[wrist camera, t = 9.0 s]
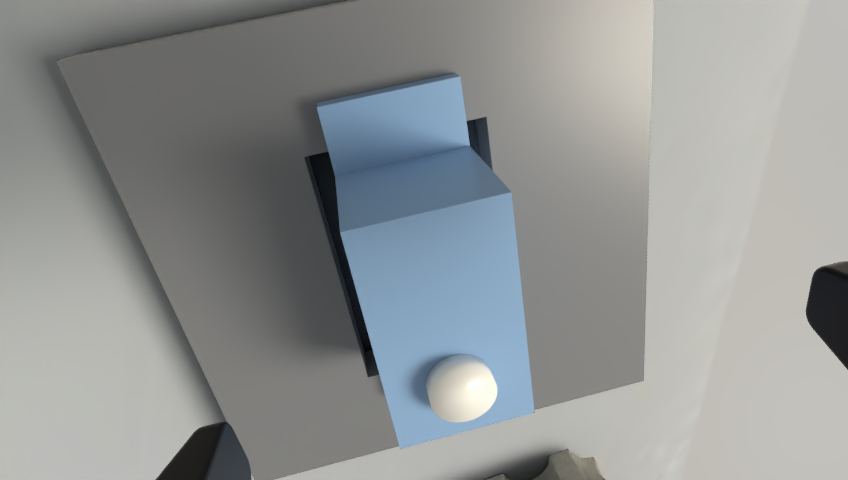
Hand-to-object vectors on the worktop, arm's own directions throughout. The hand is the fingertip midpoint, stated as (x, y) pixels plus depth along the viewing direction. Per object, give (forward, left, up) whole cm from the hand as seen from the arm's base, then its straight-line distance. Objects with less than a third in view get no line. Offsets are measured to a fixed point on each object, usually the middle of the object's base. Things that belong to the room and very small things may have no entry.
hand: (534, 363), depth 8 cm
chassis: (+1, +3, -11) cm, 11 cm away
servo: (+1, +3, -11) cm, 11 cm away
